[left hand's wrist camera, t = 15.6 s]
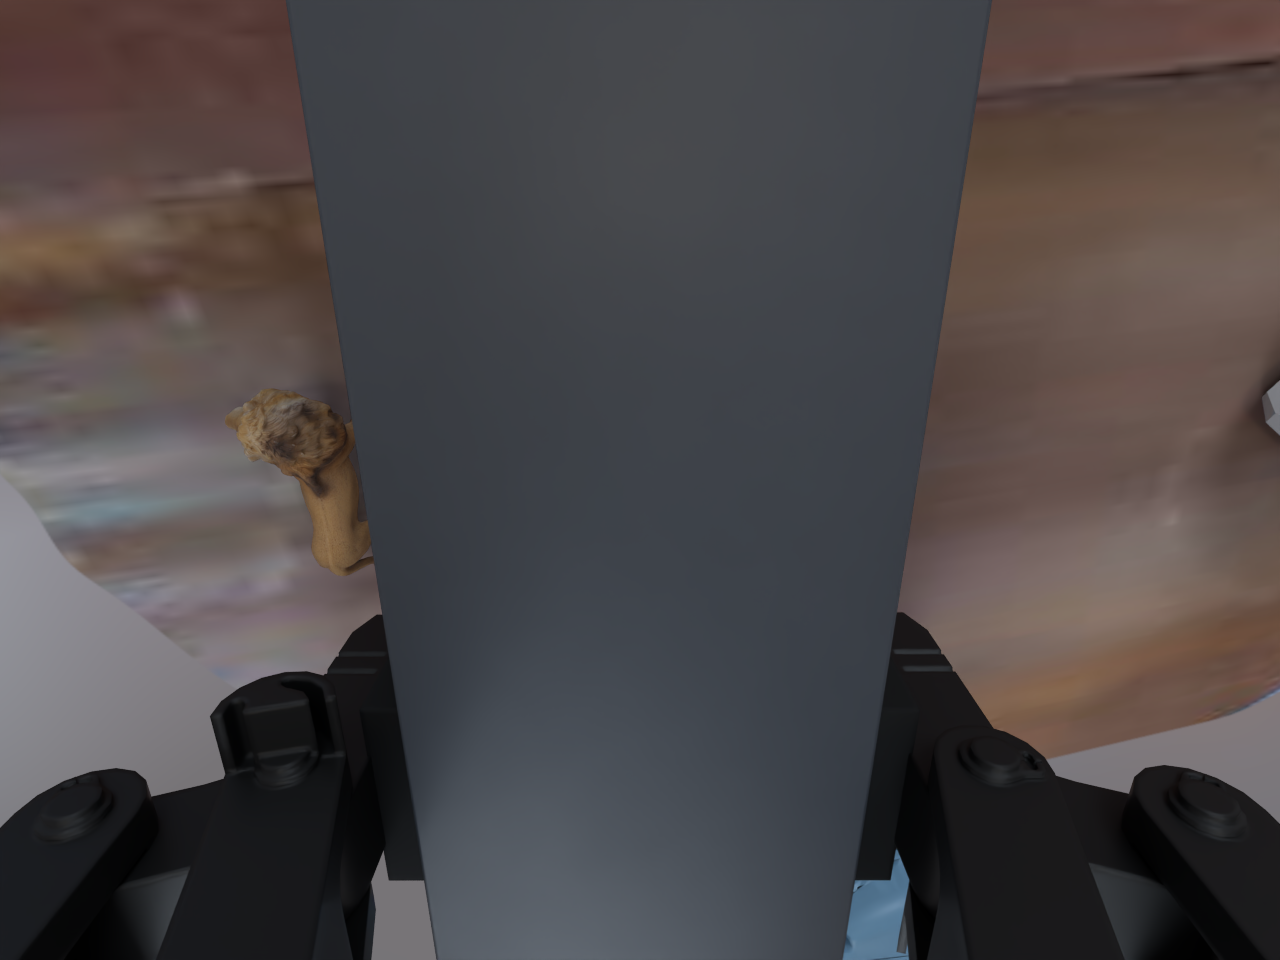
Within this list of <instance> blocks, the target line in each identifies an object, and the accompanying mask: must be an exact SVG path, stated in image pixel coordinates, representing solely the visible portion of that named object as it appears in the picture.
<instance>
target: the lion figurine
mask: <svg viewBox="0 0 1280 960" xmlns="http://www.w3.org/2000/svg"><path fill="white" fill-rule="evenodd" d="M225 424H226V425H227V426H228V427H229V428H231V429H234V430H236V431H237V433H236V434H237V438H238V439H239V440H240V441H241V442H242V446H243V447H244V448H245V449H244V453H245V455H246V456H247V457H248V459H249V460H250V461H251V462H254V461H256V460H259V459H261V460H263V461H265V462H268V463H271V464H275V465H276V466H277V467H278V468H280V469H281V471H282V473H283V474H285V475H288V476H294V477H295V478H296V479H298V480H299V482H300V486H301V490H302V494H303V497H304V500H305V503H306V505H307V508H308V510H309V512H310V515H311V518H312V522H313V527H314V532H313V539H312V547H311V548H312V553H313V555H314V557H315V559H316V560H317V562H318V563H319V565H320V566H322V567H324V568H328V569H330V571H331V572H333V573H334V574H336V575H339V576H346V575H350V574H352V573H354V572H356V571H357V570H359V569H361V568H363V567H365V566H367V565H369V564H373V563H374V558H373V556H371V557H367V558H364V559H361V560H359V559H360V558H361V557H362V556H363V555H364V554H365V553H366V551H367V550H368V548H369V546H370V544H371V539H370V532H369V526H368V520H366V521H363V522H359V521H358V517H357V511H358V501H359V487H358V480H357V476H356V473H355V470H354V468H353V466H352V463H351V461H350V459H349V457H348V456H349V454H350V452H351V451H352V449H353V447H354V445H355V437H354V431H353V424H352V419H351V420H350V423H348V424H345V425H344V424H343V418H342V417H341V416H340V415H338V414H336V413H333V412H332V410H331V408H330V406H329V405H327V404H323V402H319V401H315V400H309V399H308V398H305V397H303V396H301V395H299V394H297V393H295V392H290V391H288V390H284V391H281V390H277V389H263V390H261V391H260V393H259V394H258V395H256V396H255V397H254V398H252V399H251V401H249V402H246V403H245V404H244V405H243V407H238V408H236V409H234V410H233V411H232V412H231V413H230V414H228V415H227V416H226V418H225Z"/></svg>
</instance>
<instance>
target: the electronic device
mask: <svg viewBox="0 0 1280 960" xmlns="http://www.w3.org/2000/svg"><path fill="white" fill-rule="evenodd" d="M1262 403H1263V409H1264V415H1265V420H1266V423H1267V424H1268V425H1269V426H1270V427H1271V428H1272V429H1273V430H1275V431H1276V432H1277V433H1278V434H1279V435H1280V381H1279V382H1277V383H1276V384H1275V385H1274V386H1273V387H1272V388H1271V389H1270V390H1269V391H1267V392H1266V393H1265V394H1264V395H1263V396H1262Z"/></svg>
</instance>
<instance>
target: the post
mask: <svg viewBox="0 0 1280 960" xmlns="http://www.w3.org/2000/svg"><path fill="white" fill-rule="evenodd" d="M991 3H992V0H286V4H287V11H288V17H289V23H290V30H291V36H292V42H293V49H294V55H295V61H296V68H297V74H298V81H299V87H300V93H301V100H302V106H303V112H304V119H305V125H306V131H307V138H308V144H309V151H310V157H311V163H312V170H313V176H314V182H315V189H316V195H317V201H318V208H319V214H320V221H321V227H322V233H323V240H324V246H325V252H326V259H327V265H328V272H329V278H330V284H331V291H332V297H333V303H334V310H335V316H336V322H337V329H338V335H339V342H340V348H341V354H342V361H343V367H344V373H345V380H346V386H347V392H348V399H349V405H350V412H351V418H352V424H353V431H354V437H355V443H356V450H357V456H358V462H359V469H360V475H361V482H362V488H363V494H364V501H365V507H366V513H367V520H368V526H369V532H370V539H371V545H372V552H373V558H374V564H375V571H376V577H377V583H378V590H379V596H380V602H381V609H382V615H383V622H384V628H385V634H386V641H387V647H388V653H389V660H390V666H391V673H392V679H393V685H394V692H395V698H396V704H397V711H398V717H399V723H400V730H401V736H402V743H403V749H404V755H405V762H406V768H407V774H408V781H409V787H410V793H411V800H412V806H413V813H414V819H415V825H416V832H417V838H418V844H419V851H420V857H421V863H422V870H423V876H424V883H425V889H426V895H427V902H428V908H429V914H430V921H431V927H432V933H433V940H434V946H435V953H436V959H437V960H843V955H844V948H845V942H846V935H847V929H848V922H849V916H850V910H851V903H852V897H853V890H854V884H855V877H856V871H857V865H858V858H859V852H860V845H861V839H862V832H863V826H864V820H865V813H866V807H867V800H868V794H869V787H870V781H871V775H872V768H873V762H874V755H875V749H876V742H877V736H878V730H879V723H880V717H881V710H882V704H883V697H884V691H885V685H886V678H887V672H888V665H889V659H890V652H891V646H892V640H893V633H894V627H895V620H896V614H897V607H898V601H899V594H900V588H901V582H902V575H903V569H904V562H905V556H906V549H907V543H908V537H909V530H910V524H911V517H912V511H913V504H914V498H915V492H916V485H917V479H918V472H919V466H920V459H921V453H922V447H923V440H924V434H925V427H926V421H927V414H928V408H929V402H930V395H931V389H932V382H933V376H934V369H935V363H936V357H937V350H938V344H939V337H940V331H941V324H942V318H943V312H944V305H945V299H946V292H947V286H948V279H949V273H950V266H951V260H952V254H953V247H954V241H955V234H956V228H957V221H958V215H959V209H960V202H961V196H962V189H963V183H964V176H965V170H966V164H967V157H968V151H969V144H970V138H971V131H972V125H973V119H974V112H975V106H976V99H977V93H978V86H979V80H980V74H981V67H982V61H983V54H984V48H985V41H986V35H987V29H988V22H989V16H990V9H991Z"/></svg>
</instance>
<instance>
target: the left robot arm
mask: <svg viewBox="0 0 1280 960" xmlns="http://www.w3.org/2000/svg"><path fill="white" fill-rule="evenodd" d="M210 718H211V722H212V726H213V729H214V733H215V737H216V741H217V744H218V748H219V752H220V756H221V759H222V763H223V767H224V770H225V777H224V779H221V780H218V781H215V782H211V783H208V784H205V785H200V786H196V787H192V788H187V789H183V790H179V791H175V792H170V793H166V794H161V795H157V796H152V797H151V794H150V791H149V788H148V785H147V782H146V780H145V779H144V778H143V777H142V776H140V775H139V774H138V773H137V772H136V771H131V770H125V769H118V768H114V769H107V770H99V771H92V772H89V773H86V774H83V775H80V776H77V777H74V778H72V779H69V780H66V781H63V782H61V783H60V784H58V785H56V786H54V787H52V788H50V789H48V790H47V791H45V792H43V793H41V794H39V795H37V796H36V797H35V798H33V799H32V800H31V801H30V802H29V803H27V804H26V805H25V806H23V807H22V808H21V809H20V810H18V811H17V812H16V813H15V814H14V815H13V816H12V817H11V818H10V819H9V820H8V821H7V822H6V823H5V824H4V825H3V826H2V827H1V828H0V960H371V957H372V946H373V935H374V923H375V912H376V908H375V902H374V895H373V890H372V884H371V881H372V878H373V875H374V873H375V870H376V868H377V865H378V863H379V860H380V858H381V855H382V853H383V850H384V855H385V861H386V867H387V873H388V878H389V880H424V876H423V870H422V863H421V857H420V851H419V844H418V838H417V832H416V825H415V819H414V813H413V806H412V800H411V793H410V787H409V781H408V774H407V768H406V762H405V755H404V749H403V743H402V736H401V730H400V723H399V717H398V711H397V704H396V698H395V692H394V685H393V679H392V673H391V666H390V660H389V653H388V647H387V641H386V634H385V628H384V622H383V615H376V616H374V617H373V618H372V619H370V620H369V621H367V622H366V623H365V624H363V625H362V626H360V627H359V628H358V629H356V630H355V631H354V632H352V634H351V635H350V637H349V638H348V640H347V641H346V643H345V644H344V646H343V647H342V649H341V650H340V652H339V657H336V658H335V659H334V661H333V662H332V664H331V665H330V667H329V668H328V672H327V674H324V676H323V675H319V674H315V673H311V672H307V671H304V672H284V673H280V674H276V675H272V676H268V677H263V678H260V679H258V680H256V681H254V682H252V683H249V684H247V685H245V686H243V687H240V688H239V689H237V690H236V691H235V692H233V693H232V694H231V695H229V696H228V697H226V698H225V699H224V700H222V701H221V702H220V704H219V705H218V706H217V708H216V709H215V710H214V712H213V713H212V714H211V716H210ZM843 960H1280V824H1279V823H1278V822H1277V821H1276V820H1275V819H1274V818H1273V817H1272V816H1271V815H1270V814H1269V813H1268V812H1267V811H1266V810H1265V809H1264V808H1262V807H1261V806H1260V805H1259V804H1257V803H1256V802H1255V801H1254V800H1252V799H1251V798H1250V797H1249V796H1247V795H1246V794H1245V793H1243V792H1242V791H1240V790H1238V789H1236V788H1234V787H1232V786H1231V785H1229V784H1227V783H1225V782H1223V781H1221V780H1219V779H1217V778H1215V777H1212V776H1209V775H1207V774H1203V773H1201V772H1197V771H1195V770H1192V769H1189V768H1181V767H1174V766H1167V765H1162V766H1155V767H1149V768H1145V769H1143V770H1142V771H1141V772H1140V773H1139V774H1137V775H1136V776H1135V777H1134V780H1133V783H1132V786H1131V789H1130V792H1129V794H1127V793H1123V792H1119V791H1114V790H1110V789H1105V788H1101V787H1097V786H1092V785H1088V784H1083V783H1079V782H1075V781H1072V780H1068V779H1065V778H1062V777H1058V776H1056V775H1055V773H1054V771H1053V770H1052V768H1051V767H1050V765H1049V764H1048V762H1047V760H1046V759H1045V757H1044V756H1042V755H1041V754H1040V753H1039V752H1038V751H1036V750H1035V749H1034V748H1033V747H1031V746H1030V745H1029V744H1028V743H1026V742H1024V741H1022V740H1020V739H1019V738H1017V737H1015V736H1013V735H1011V734H1009V733H1007V732H1004V731H1000V730H997V729H994V728H993V727H992V726H991V724H990V723H989V721H988V720H987V718H986V717H985V715H984V714H983V712H982V711H981V709H980V708H979V706H978V705H977V703H976V702H975V700H974V699H973V697H972V696H971V694H970V693H969V691H968V690H967V688H966V687H965V685H964V684H963V682H962V681H961V679H960V678H959V676H958V675H957V673H956V672H953V670H952V666H951V664H950V663H949V661H948V660H947V658H946V657H945V656H944V654H941V650H940V648H939V647H938V645H937V644H936V642H935V641H934V639H933V638H932V636H931V635H930V633H929V632H928V630H927V629H925V628H924V627H922V626H921V625H920V624H918V623H917V622H916V621H914V620H913V619H911V618H910V617H909V616H907V615H906V614H904V613H897V614H896V620H895V627H894V633H893V640H892V646H891V652H890V659H889V665H888V672H887V678H886V685H885V691H884V697H883V704H882V710H881V717H880V723H879V730H878V736H877V742H876V749H875V755H874V762H873V768H872V775H871V781H870V787H869V794H868V800H867V807H866V813H865V820H864V826H863V832H862V839H861V845H860V852H859V858H858V865H857V871H856V877H855V884H854V890H853V897H852V903H851V910H850V916H849V922H848V929H847V935H846V942H845V948H844V955H843Z"/></svg>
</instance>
